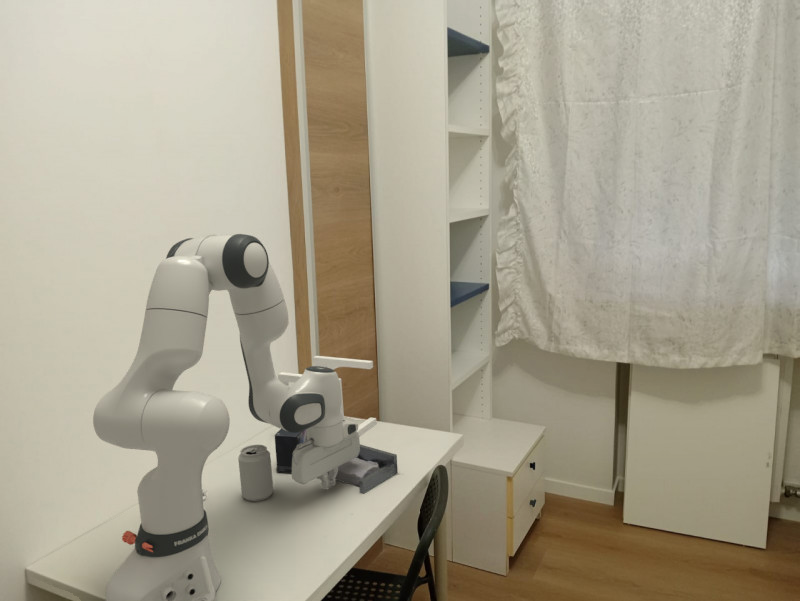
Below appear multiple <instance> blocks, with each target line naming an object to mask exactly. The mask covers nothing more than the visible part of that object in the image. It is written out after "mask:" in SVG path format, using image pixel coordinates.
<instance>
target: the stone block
mask: <svg viewBox="0 0 800 601" xmlns="http://www.w3.org/2000/svg"><path fill="white" fill-rule="evenodd" d="M377 470H379V466H378V464H377V463H375V462H372V461H365V460H361V459H359V458H354V459H352V460H350V461H348V462H346V463H344V464H342V465H340V466H338V472H337V475H336V478H335V481H336V480H337V481H339V482H343V483H346V484H350V485H351V486H352V485H353V486H355V487H357V486H359V481H360V480H361V479H363V478H365V477H367V476H368V475H370V474H372V473H373V472H375V471H377ZM328 475H329V472H328V473H327V476H328Z"/></svg>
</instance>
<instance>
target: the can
mask: <svg viewBox="0 0 800 601" xmlns="http://www.w3.org/2000/svg"><path fill="white" fill-rule="evenodd" d="M239 453H240V454H239V455H238V457H237V459H238V468H239V469H238V470H239V479H240V490H241V496H242V498H244V499H245V500H247V501H249V502H261V501H264V500H266V499H268V498H269V497H270V496H271V495H272V494H273V492H274V483H273V472H272V471H273V470H272V469H273V468H272V460H271V452H270V451H269V450H268V448H267V446H265V445H263V444H251V445H247V446H245V447H242V448H241V449H240V451H239Z"/></svg>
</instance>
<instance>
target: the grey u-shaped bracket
mask: <svg viewBox="0 0 800 601" xmlns="http://www.w3.org/2000/svg"><path fill="white" fill-rule="evenodd" d="M397 455H398V454H396V453H392V452H389V451H386V450H381V449H378V448H373V447H371V446H367V445H363V444H361V443H360V452H359V455H358V456H357V457H356V458H359V459H361V460H365V461H372V462H375V463H377V464H378V466H379V470H377V471H375V472H373V473H372V474H370V475H368V476H367V477H365V478H363V479H361V480H360V481H359V487H358V488H359V493H360V494H365V493H367V492H369V491H371V490H372V489H374V488H376V487H377V486H379V485H381V484H382V483H384V482H385V481H387V480H389V479H391V478H393V476H395V475H397V474H398V456H397ZM327 474H328V472H327ZM316 479H319V478H318V477H317V478H316Z"/></svg>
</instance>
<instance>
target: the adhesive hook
mask: <svg viewBox="0 0 800 601" xmlns="http://www.w3.org/2000/svg"><path fill="white" fill-rule="evenodd" d="M207 492H208V490H206V489H203V488H202V497H203V502H204V501H206V498H207V497H208V496H207Z"/></svg>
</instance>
